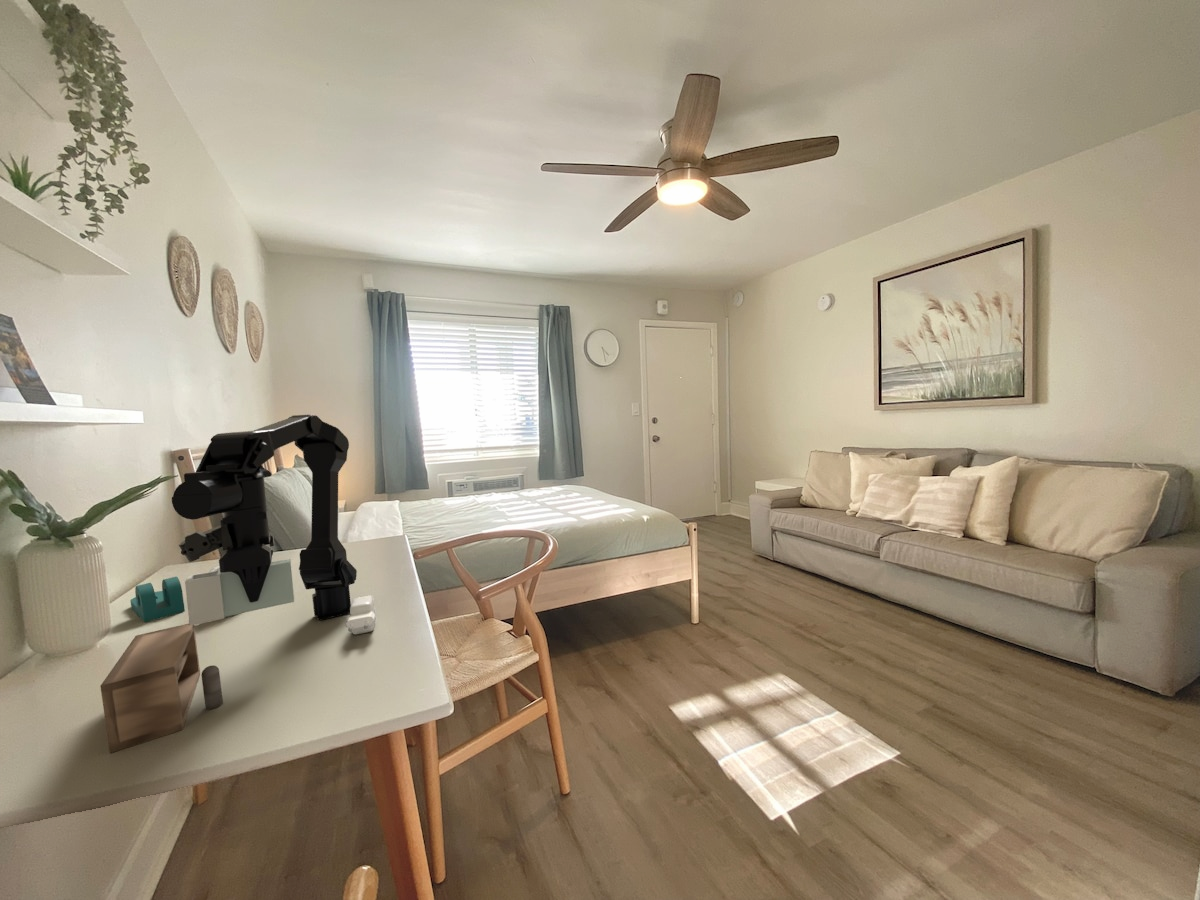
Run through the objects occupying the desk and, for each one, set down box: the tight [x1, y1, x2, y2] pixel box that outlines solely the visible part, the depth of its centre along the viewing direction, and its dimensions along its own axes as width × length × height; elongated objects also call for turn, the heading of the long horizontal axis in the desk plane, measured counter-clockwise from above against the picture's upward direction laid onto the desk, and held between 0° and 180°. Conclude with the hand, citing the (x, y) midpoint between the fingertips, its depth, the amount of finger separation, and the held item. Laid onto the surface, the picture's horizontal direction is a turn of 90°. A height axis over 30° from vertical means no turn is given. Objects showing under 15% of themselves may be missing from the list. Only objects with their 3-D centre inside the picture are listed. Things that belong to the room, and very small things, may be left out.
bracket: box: [129, 576, 186, 623], centre depth 110 cm, size 18×7×8 cm, turn 53°
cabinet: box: [100, 623, 224, 754], centre depth 70 cm, size 11×18×9 cm, turn 35°
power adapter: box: [345, 595, 376, 635], centre depth 90 cm, size 11×5×6 cm, turn 21°
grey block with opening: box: [184, 558, 295, 626], centre depth 78 cm, size 14×4×7 cm, turn 124°
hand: (254, 599), depth 79 cm, fingers closed on grey block with opening, 2 cm apart
